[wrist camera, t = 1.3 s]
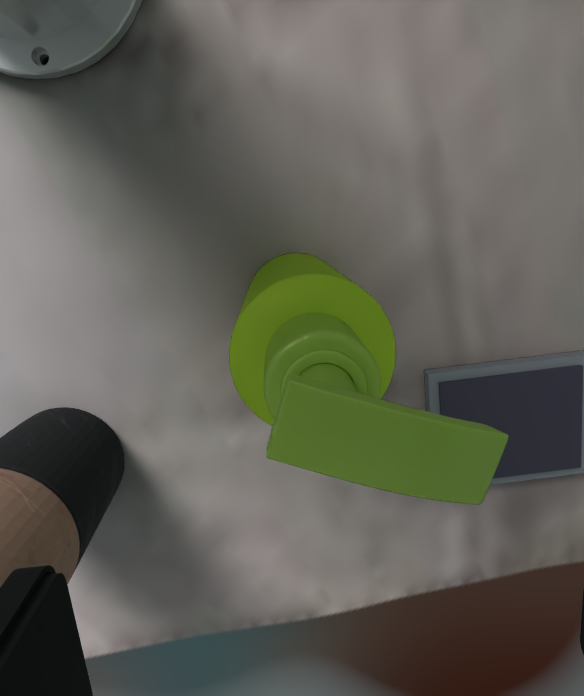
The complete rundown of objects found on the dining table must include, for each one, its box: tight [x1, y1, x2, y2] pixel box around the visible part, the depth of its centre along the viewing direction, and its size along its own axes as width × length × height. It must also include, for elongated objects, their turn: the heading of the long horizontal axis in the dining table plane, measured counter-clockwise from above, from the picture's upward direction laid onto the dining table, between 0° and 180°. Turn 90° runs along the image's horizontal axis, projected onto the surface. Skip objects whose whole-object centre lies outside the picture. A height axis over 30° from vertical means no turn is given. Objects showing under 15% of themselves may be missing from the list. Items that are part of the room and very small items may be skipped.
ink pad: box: [424, 351, 584, 485], centre depth 32 cm, size 8×10×1 cm
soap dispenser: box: [229, 253, 509, 504], centre depth 21 cm, size 6×7×20 cm
